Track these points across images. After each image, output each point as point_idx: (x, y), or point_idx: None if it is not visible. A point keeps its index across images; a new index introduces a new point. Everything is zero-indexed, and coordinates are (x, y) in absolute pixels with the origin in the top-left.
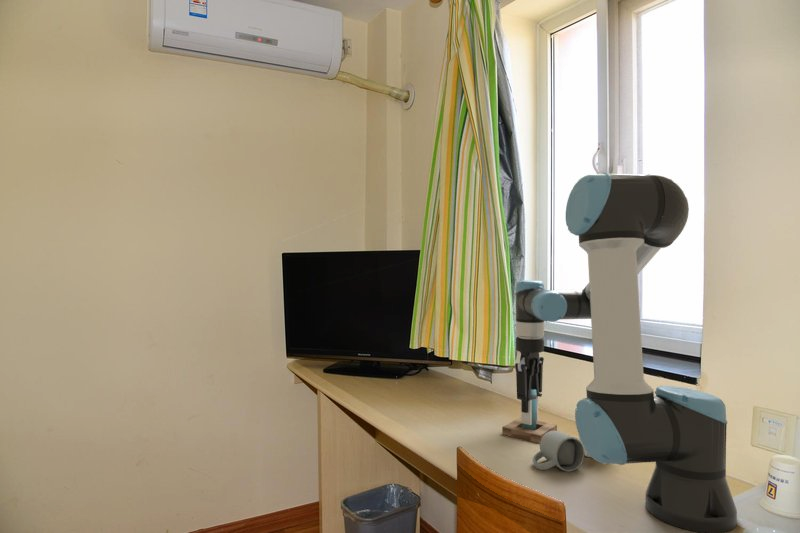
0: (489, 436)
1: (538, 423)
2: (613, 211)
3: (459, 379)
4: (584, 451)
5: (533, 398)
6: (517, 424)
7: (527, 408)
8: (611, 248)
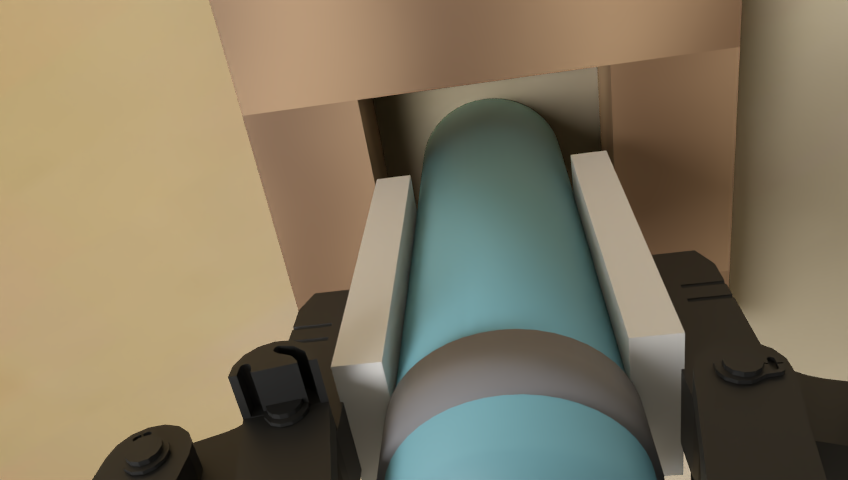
0: (828, 354)
1: (345, 175)
2: None
3: None
4: None
5: (582, 348)
6: None
7: (682, 287)
8: None
